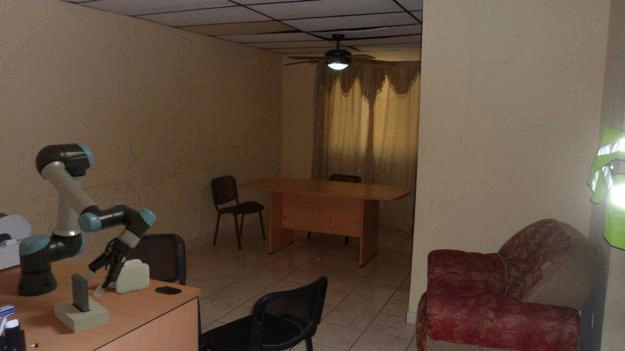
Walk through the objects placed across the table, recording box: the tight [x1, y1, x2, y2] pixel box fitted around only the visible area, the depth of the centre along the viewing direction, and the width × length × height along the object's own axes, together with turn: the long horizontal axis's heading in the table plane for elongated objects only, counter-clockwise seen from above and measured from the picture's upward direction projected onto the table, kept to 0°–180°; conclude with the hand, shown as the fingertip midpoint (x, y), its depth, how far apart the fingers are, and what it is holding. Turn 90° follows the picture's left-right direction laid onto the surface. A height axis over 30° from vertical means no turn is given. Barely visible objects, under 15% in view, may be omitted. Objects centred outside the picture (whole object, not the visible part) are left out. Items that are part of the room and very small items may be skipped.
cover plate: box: [71, 273, 89, 313], centre depth 173 cm, size 10×2×16 cm, turn 47°
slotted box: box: [53, 295, 110, 334], centre depth 174 cm, size 20×12×6 cm, turn 47°
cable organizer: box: [106, 258, 150, 295], centre depth 207 cm, size 15×11×12 cm
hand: (87, 290), depth 174 cm, fingers open, 13 cm apart
